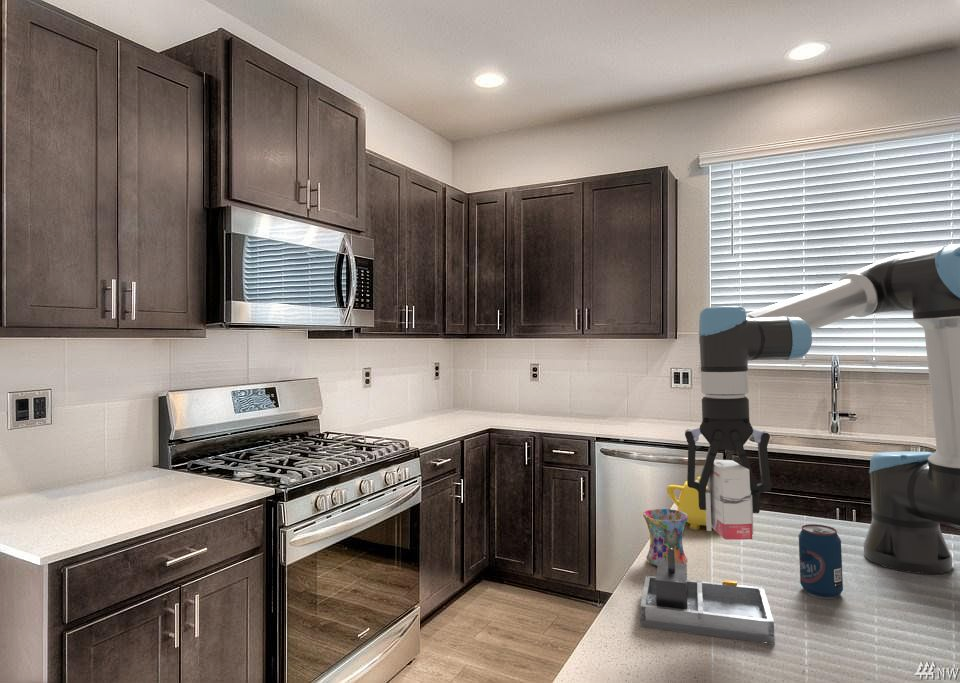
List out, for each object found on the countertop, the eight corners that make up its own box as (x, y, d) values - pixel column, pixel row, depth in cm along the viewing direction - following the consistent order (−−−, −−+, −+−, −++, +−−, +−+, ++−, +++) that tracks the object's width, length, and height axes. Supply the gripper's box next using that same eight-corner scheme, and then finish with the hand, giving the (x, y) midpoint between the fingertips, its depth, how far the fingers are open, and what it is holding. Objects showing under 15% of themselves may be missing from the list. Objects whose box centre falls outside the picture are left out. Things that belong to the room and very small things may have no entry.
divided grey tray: (764, 605, 104) (761, 542, 104) (774, 644, 91) (772, 571, 91) (646, 592, 111) (644, 533, 111) (640, 626, 98) (638, 559, 98)
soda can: (792, 589, 110) (789, 526, 110) (817, 582, 113) (814, 521, 113) (826, 603, 104) (823, 536, 104) (851, 595, 107) (849, 531, 107)
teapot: (755, 534, 142) (753, 483, 142) (671, 531, 146) (669, 482, 146) (741, 518, 155) (739, 472, 156) (664, 516, 159) (662, 471, 159)
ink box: (753, 540, 95) (751, 468, 95) (723, 540, 95) (720, 469, 95) (735, 524, 103) (733, 458, 103) (707, 524, 104) (705, 458, 104)
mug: (688, 573, 119) (686, 522, 119) (642, 568, 123) (640, 518, 123) (691, 554, 130) (689, 507, 130) (648, 549, 134) (647, 503, 134)
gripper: (782, 393, 100) (787, 527, 100) (668, 394, 106) (672, 519, 106) (789, 397, 93) (794, 541, 92) (666, 397, 99) (671, 532, 99)
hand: (729, 529), depth 99 cm, fingers closed on ink box, 6 cm apart
